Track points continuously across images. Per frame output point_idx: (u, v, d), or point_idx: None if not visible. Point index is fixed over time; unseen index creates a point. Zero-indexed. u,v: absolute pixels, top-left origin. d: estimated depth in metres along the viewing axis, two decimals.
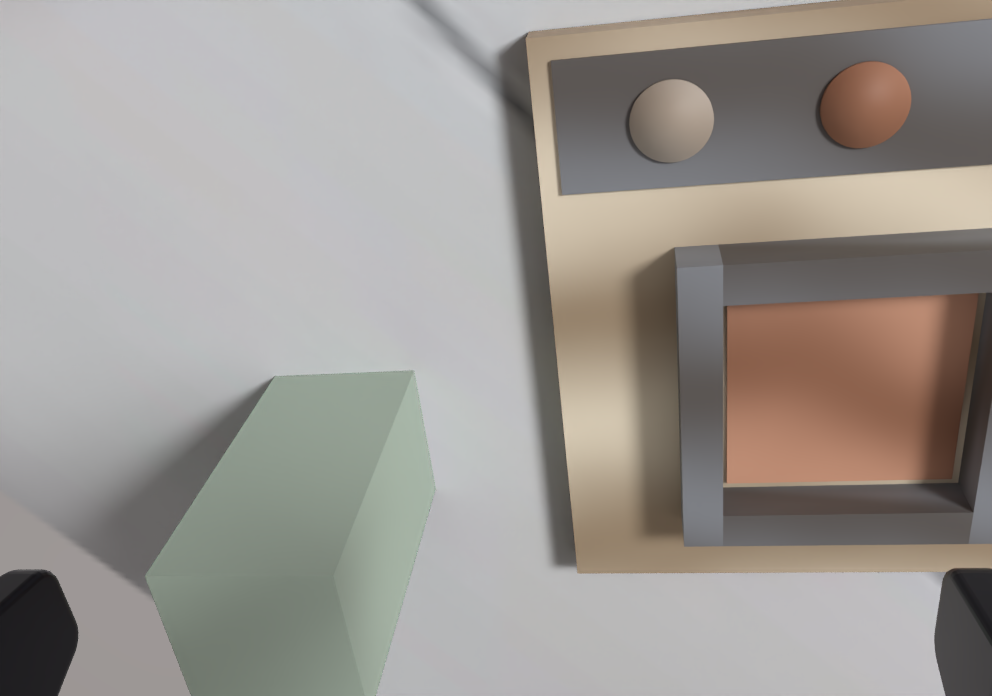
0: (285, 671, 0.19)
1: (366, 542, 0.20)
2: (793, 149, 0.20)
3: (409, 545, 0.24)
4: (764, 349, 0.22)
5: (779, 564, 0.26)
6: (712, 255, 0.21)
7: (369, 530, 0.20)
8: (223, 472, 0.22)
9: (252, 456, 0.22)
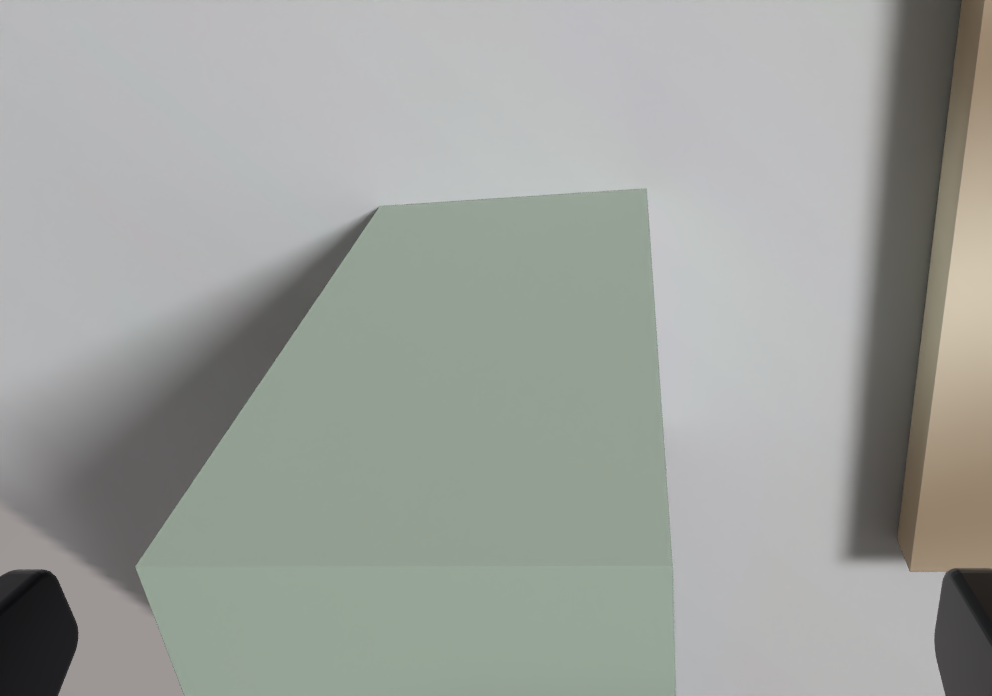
0: None
1: None
2: None
3: None
4: None
5: None
6: None
7: None
8: (310, 345, 0.10)
9: (367, 317, 0.10)
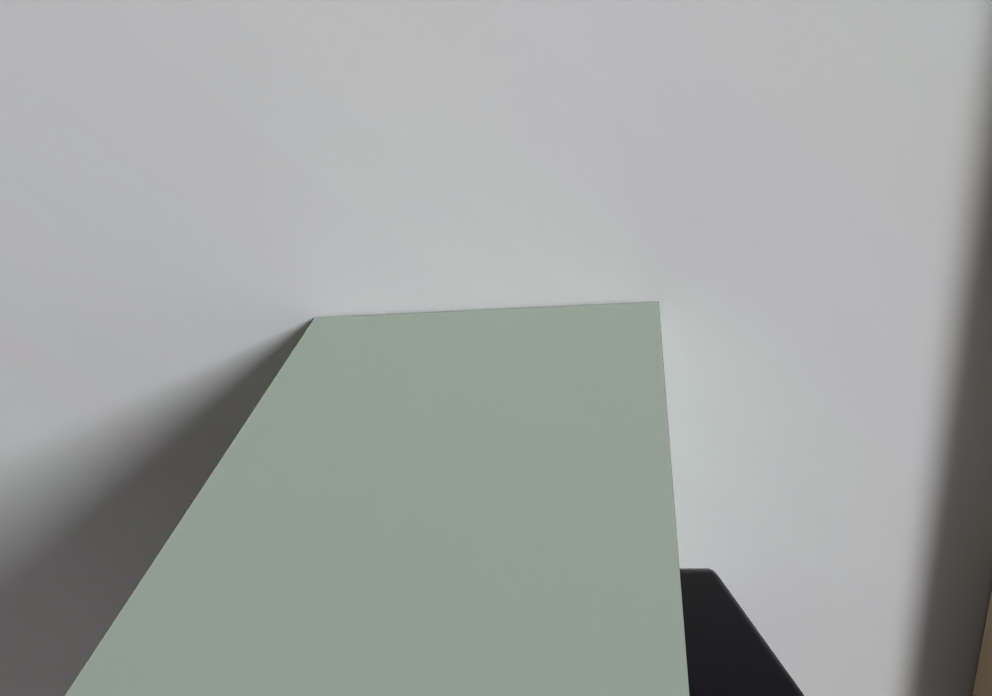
0: None
1: None
2: None
3: None
4: None
5: None
6: None
7: None
8: (174, 583, 0.07)
9: (265, 528, 0.07)
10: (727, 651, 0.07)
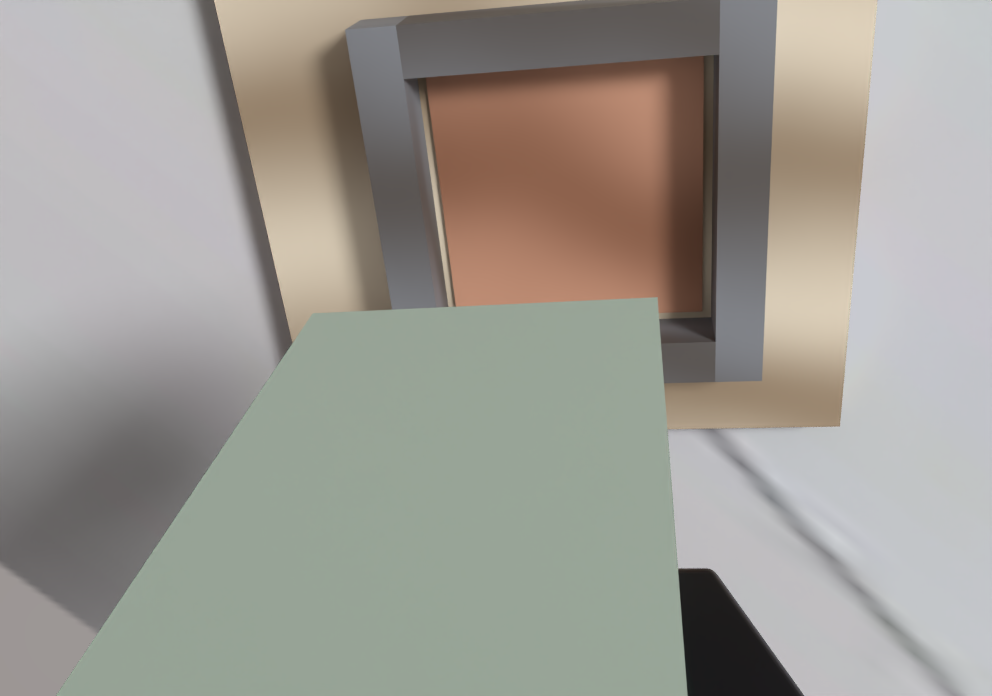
0: None
1: None
2: None
3: None
4: (477, 150, 0.20)
5: None
6: (393, 21, 0.18)
7: None
8: (171, 577, 0.07)
9: (262, 523, 0.07)
10: (727, 651, 0.07)
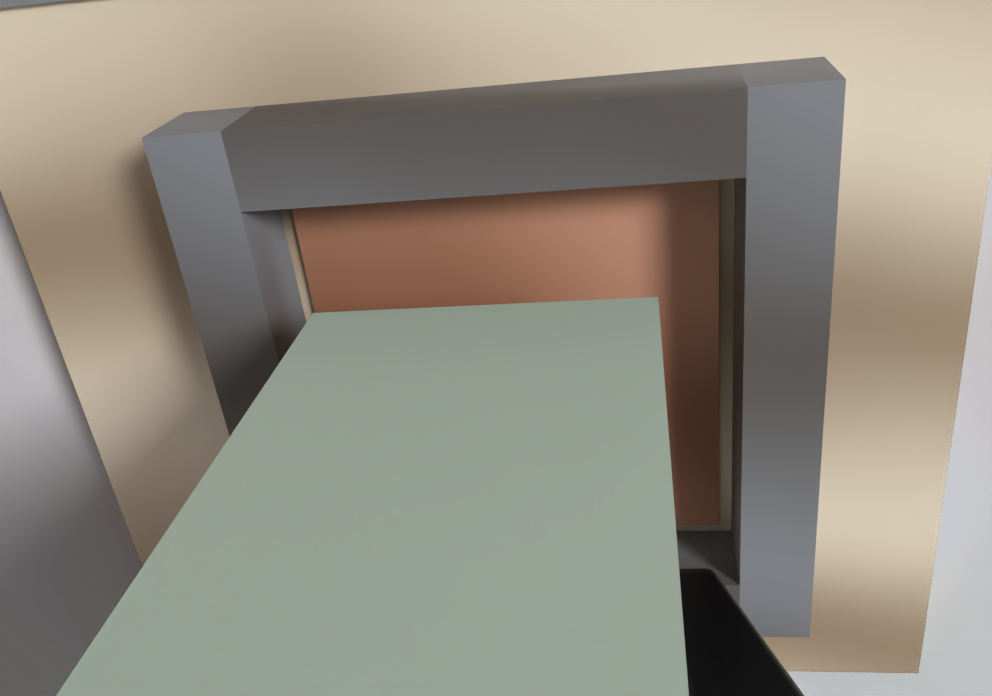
0: None
1: None
2: None
3: None
4: (376, 300, 0.13)
5: None
6: (224, 119, 0.11)
7: None
8: (171, 577, 0.07)
9: (263, 522, 0.07)
10: (727, 651, 0.07)
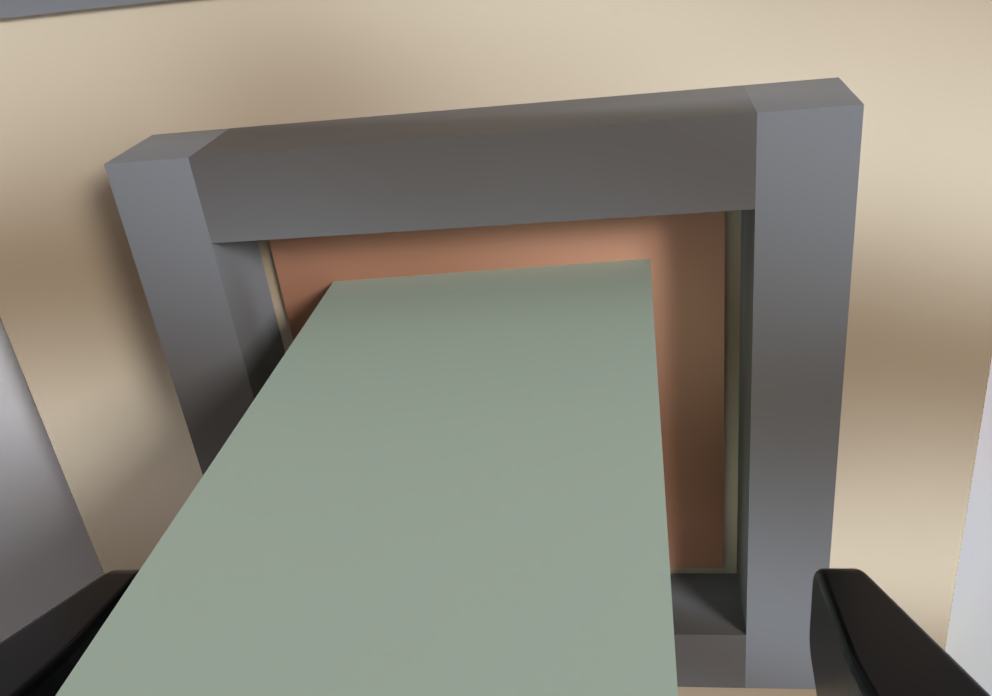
0: None
1: None
2: None
3: None
4: None
5: None
6: (194, 143, 0.10)
7: None
8: (220, 497, 0.08)
9: (298, 452, 0.08)
10: (900, 653, 0.07)
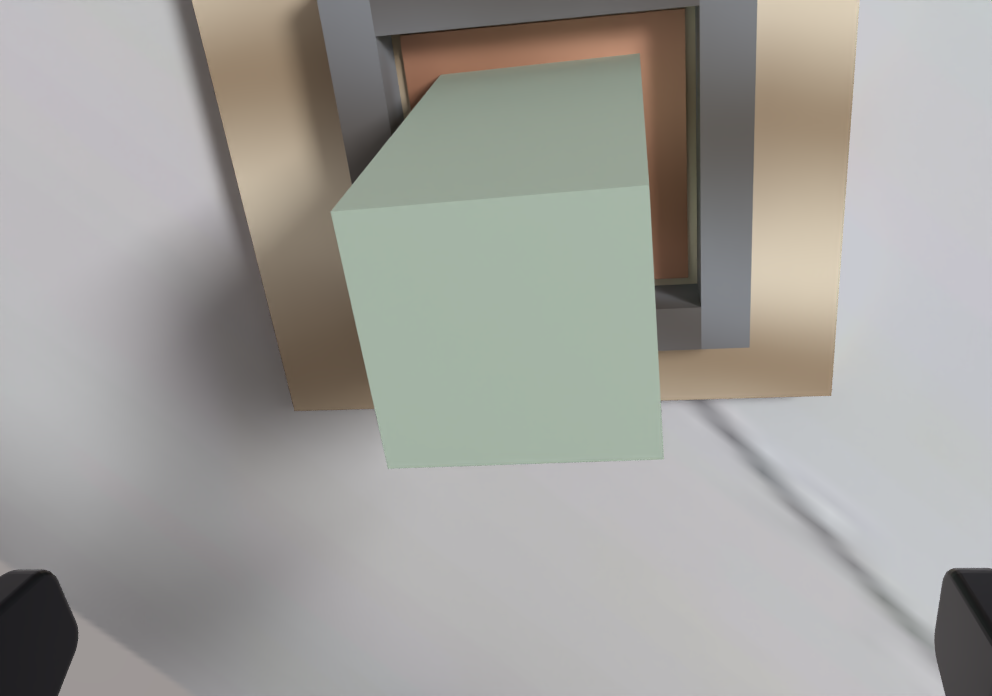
0: (539, 383, 0.12)
1: None
2: None
3: None
4: None
5: None
6: None
7: None
8: (409, 133, 0.15)
9: (445, 120, 0.15)
10: None
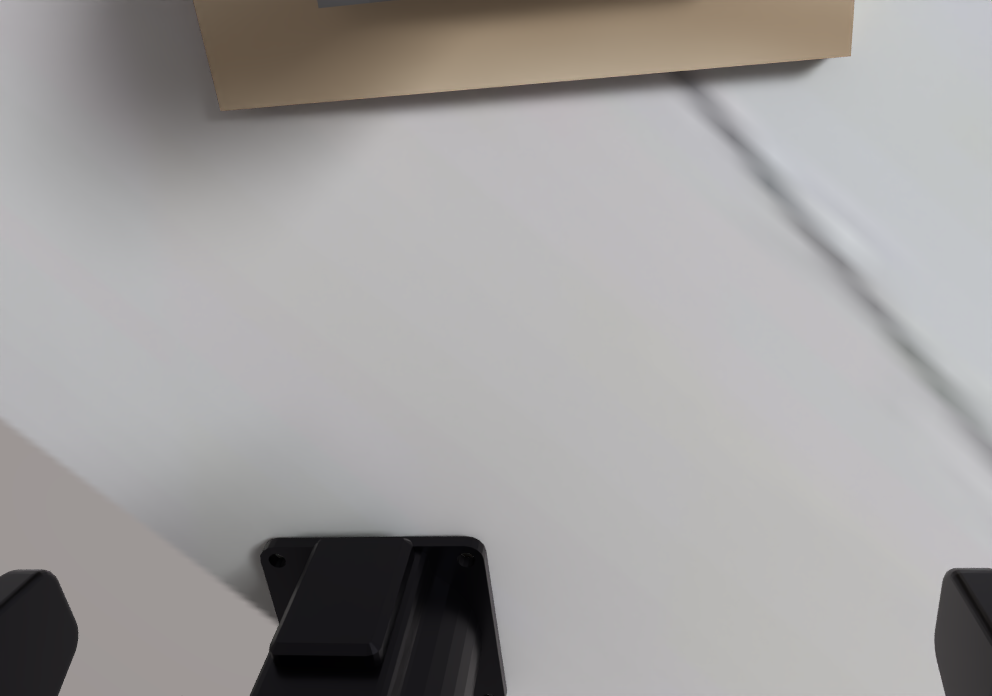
0: None
1: None
2: None
3: None
4: None
5: (475, 74, 0.19)
6: None
7: None
8: None
9: None
10: None
